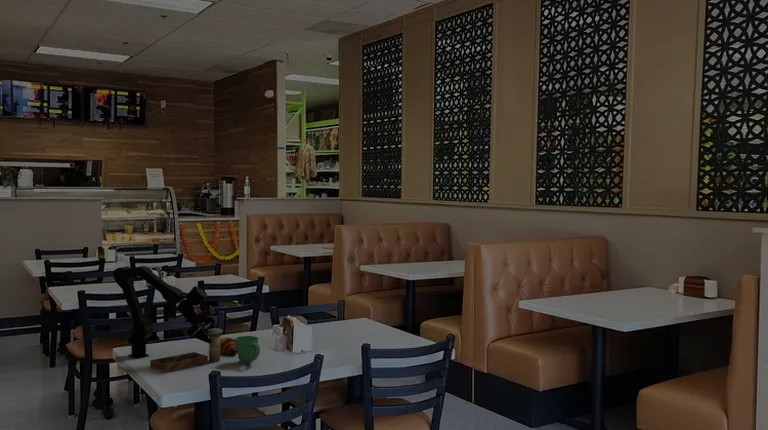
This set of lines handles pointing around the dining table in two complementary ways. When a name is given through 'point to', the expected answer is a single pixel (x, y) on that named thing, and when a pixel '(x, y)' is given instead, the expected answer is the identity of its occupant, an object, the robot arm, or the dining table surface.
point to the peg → (214, 344)
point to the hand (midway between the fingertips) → (215, 340)
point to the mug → (247, 348)
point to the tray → (178, 362)
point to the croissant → (228, 346)
